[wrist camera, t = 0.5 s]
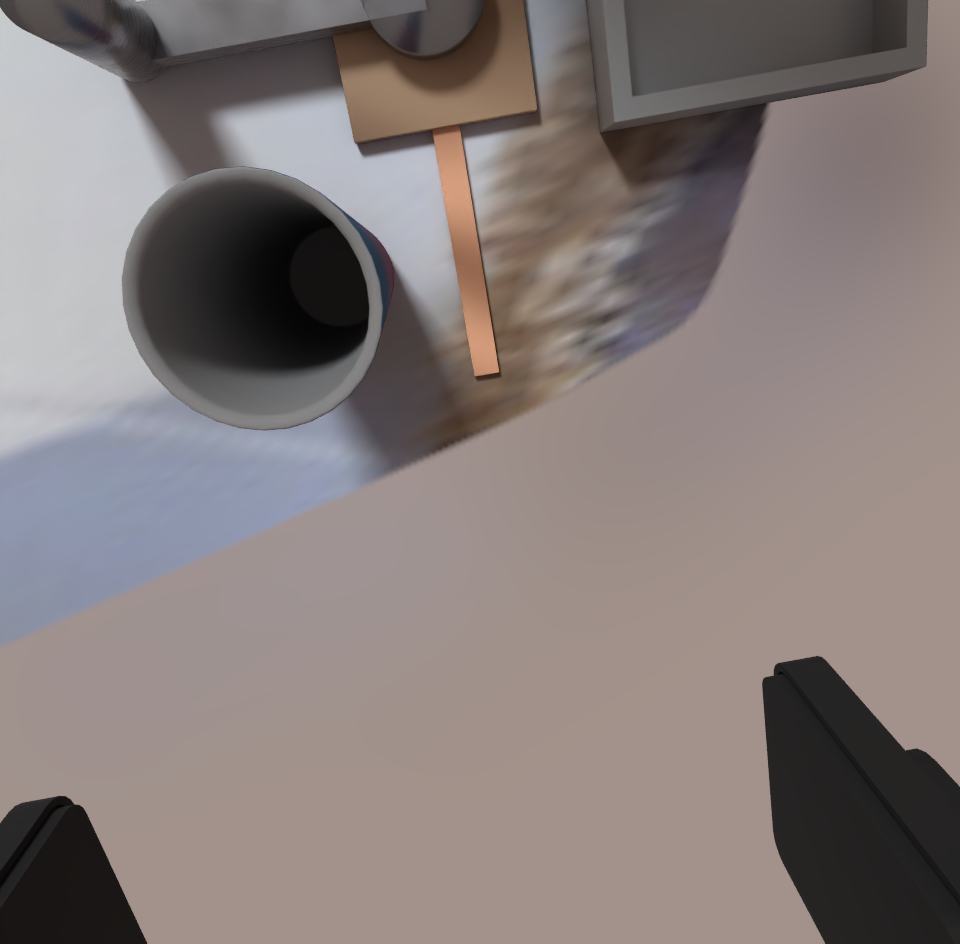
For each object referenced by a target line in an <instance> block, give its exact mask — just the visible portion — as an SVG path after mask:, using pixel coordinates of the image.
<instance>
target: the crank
mask: <svg viewBox="0 0 960 944" xmlns="http://www.w3.org/2000/svg"><path fill="white" fill-rule="evenodd" d="M483 5H484V0H146V1H141V2H136V1H135V0H0V8H1V9H2V11H3V12H4V13H5V14H6V16H7V17H8V18H9V19H10V20H11V21H12V22H13V23H15V24H16V25H17V26H19V27H20V28H22V29H23V30H25V31H27V32H29V33H31V34H34V35H36V36H38V37H40V38H42V39H44V40H46V41H48V42H50V43H52V44H54V45H56V46H58V47H60V48H62V49H64V50H66V51H68V52H70V53H72V54H74V55H77V56H79V57H81V58H83V59H85V60H87V61H89V62H91V63H93V64H95V65H97V66H99V67H101V68H103V69H105V70H107V71H109V72H111V73H113V74H115V75H117V76H120V77H122V78H124V79H126V80H129V81H132V82H146V81H149V80H152V79H153V78H155V77H157V76H158V75H159V74H160V73H161V72H162V70H163V69H164V67H166V66H172V65H177V64H183V63H188V62H194V61H199V60H205V59H210V58H216V57H221V56H226V55H232V54H237V53H243V52H248V51H254V50H259V49H265V48H270V47H275V46H281V45H286V44H292V43H297V42H303V41H308V40H314V39H319V38H324V37H330V36H335V35H341V34H346V33H352V32H357V31H363V30H368V29H373V30H374V31H375V33H376V34H377V35H378V37H379V38H380V39H381V40H382V41H383V42H384V43H385V44H386V45H387V46H388V47H389V48H391V49H392V50H394V51H395V52H397V53H399V54H401V55H403V56H405V57H408V58H411V59H417V60H434V59H438V58H442V57H445V56H447V55H449V54H451V53H453V52H454V51H456V50H457V49H459V48H460V47H461V46H462V45H463V44H464V43H465V42H466V41H467V40H468V39H469V38H470V36H471V35H472V33H473V32H474V30H475V28H476V26H477V25H478V22H479V20H480V17H481V14H482V10H483Z"/></svg>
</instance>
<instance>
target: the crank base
mask: <svg viewBox="0 0 960 944" xmlns="http://www.w3.org/2000/svg"><path fill="white" fill-rule="evenodd" d="M333 40H334V45H335V50H336V55H337V60H338V65H339V70H340V74H341V79H342V84H343V89H344V94H345V99H346V104H347V109H348V113H349V118H350V123H351V128H352V133H353V138H354V142H355V143H356V144H360V143H365V142H371V141H376V140H382V139H388V138H393V137H399V136H404V135H410V134H415V133H421V132H426V131H432V132H433V138H434V143H435V149H436V155H437V161H438V167H439V172H440V178H441V184H442V190H443V196H444V201H445V207H446V213H447V219H448V224H449V230H450V236H451V242H452V248H453V253H454V259H455V265H456V271H457V277H458V282H459V288H460V294H461V300H462V306H463V311H464V317H465V323H466V329H467V335H468V340H469V346H470V352H471V358H472V364H473V369H474V375H475V376H480V375H486V374H492V373H497V372H499V368H498V362H497V356H496V349H495V343H494V337H493V331H492V325H491V318H490V312H489V306H488V300H487V293H486V287H485V281H484V275H483V269H482V262H481V256H480V250H479V244H478V238H477V231H476V225H475V219H474V213H473V207H472V200H471V194H470V188H469V182H468V176H467V169H466V163H465V157H464V151H463V145H462V138H461V132H460V126H459V125H465V124H471V123H476V122H482V121H487V120H493V119H498V118H504V117H509V116H515V115H520V114H526V113H531V112H536V110H537V104H536V96H535V89H534V81H533V73H532V65H531V57H530V50H529V42H528V34H527V26H526V19H525V11H524V3H523V0H484V5H483V10H482V14H481V17H480V20H479V22H478V25H477V26H476V28H475V30H474V32H473V33H472V35H471V36H470V38H469V39H468V40H467V41H466V42H465V43H464V44H463V45H462V46H461V47H460V48H459V49H457V50H456V51H454V52H453V53H451V54H449V55H447V56H445V57H442V58H438V59H434V60H417V59H411V58H408V57H405V56H403V55H401V54H399V53H397V52H395V51H394V50H392V49H391V48H389V47H388V46H387V45H386V44H385V43H384V42H383V41H382V40H381V39H380V38H379V37H378V35H377V34H376V33H375V31H374V30H373V29H368V30H363V31H357V32H352V33H346V34H341V35H335V36H333Z"/></svg>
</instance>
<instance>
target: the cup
mask: <svg viewBox="0 0 960 944" xmlns="http://www.w3.org/2000/svg"><path fill="white" fill-rule="evenodd" d="M393 281H394V276H393V268H392V264H391V261H390V258H389V255H388V254H387V252H386V250H385V248H384V246H383V245H382V244H381V242H380V241H379V240H378V239H377V238H376V237H375V236H374V235H373V234H372V233H371V232H369V231H368V230H367V229H366V228H364V227H363V226H362V225H361V224H359V223H358V222H357V221H356V220H354V219H353V218H352V217H351V216H349V215H348V214H347V213H346V212H344V211H343V210H342V209H340V208H339V207H338V206H337V205H335V204H334V203H333V202H332V201H330V200H329V199H328V198H327V197H325V196H324V195H323V194H322V193H320V192H319V191H317V190H315V189H313V188H312V187H310V186H308V185H306V184H305V183H303V182H301V181H299V180H298V179H296V178H293V177H290V176H287V175H284V174H281V173H278V172H275V171H272V170H267V169H259V168H251V167H243V166H242V167H231V168H219V169H214V170H211V171H207V172H204V173H201V174H198V175H195V176H191V177H189V178H188V179H186V180H184V181H183V182H181V183H179V184H177V185H176V186H174V187H172V188H171V189H169V190H168V191H167V192H166V193H165V194H163V195H162V196H161V197H160V198H159V199H158V200H157V201H156V202H155V203H154V204H153V205H152V206H151V207H150V208H149V209H148V211H147V212H146V214H145V215H144V217H143V218H142V220H141V221H140V223H139V224H138V226H137V227H136V229H135V231H134V234H133V236H132V239H131V242H130V244H129V247H128V249H127V252H126V257H125V263H124V269H123V275H122V292H123V306H124V311H125V315H126V319H127V324H128V328H129V331H130V333H131V336H132V338H133V340H134V342H135V345H136V347H137V349H138V352H139V354H140V355H141V357H142V358H143V360H144V361H145V363H146V364H147V366H148V367H149V369H150V370H151V372H152V373H153V375H154V376H155V377H156V378H157V379H158V380H159V381H160V382H161V383H162V384H163V385H164V386H165V388H166V389H167V390H168V391H169V392H170V393H171V394H172V395H174V396H175V397H176V398H178V399H179V400H180V401H182V402H183V403H184V404H186V405H187V406H189V407H190V408H191V409H193V410H194V411H197V412H199V413H201V414H203V415H205V416H207V417H209V418H211V419H213V420H215V421H217V422H221V423H224V424H228V425H231V426H235V427H238V428H244V429H254V430H275V429H287V428H291V427H294V426H298V425H301V424H305V423H308V422H311V421H313V420H315V419H317V418H319V417H321V416H323V415H325V414H326V413H328V412H330V411H332V410H333V409H334V408H336V407H337V406H338V405H339V404H340V403H342V402H343V401H344V400H345V399H346V398H348V397H349V396H350V395H351V393H352V392H353V391H354V390H355V389H356V387H357V386H358V385H359V384H360V382H361V381H362V380H363V379H364V377H365V375H366V373H367V371H368V369H369V367H370V365H371V363H372V361H373V359H374V357H375V355H376V351H377V347H378V344H379V340H380V337H381V333H382V329H383V325H384V321H385V318H386V314H387V310H388V306H389V302H390V298H391V294H392V291H393Z"/></svg>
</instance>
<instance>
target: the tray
mask: <svg viewBox="0 0 960 944" xmlns="http://www.w3.org/2000/svg"><path fill="white" fill-rule="evenodd" d="M586 5H587V14H588V24H589V33H590V43H591V52H592V62H593V71H594V81H595V91H596V100H597V110H598V119H599V129H600V133H602V132H608V131H614V130H619V129H625V128H630V127H636V126H641V125H647V124H652V123H658V122H664V121H669V120H675V119H680V118H686V117H691V116H697V115H703V114H708V113H714V112H719V111H725V110H730V109H736V108H741V107H747V106H753V105H758V104H764V103H769V102H775V101H780V100H786V99H791V98H797V97H802V96H808V95H813V94H819V93H825V92H830V91H836V90H841V89H847V88H852V87H858V86H864V85H869V84H875V83H880V82H884V81H887V80H890V79H892V78H895V77H898V76H901V75H904V74H906V73H909V72H912V71H915V70H917V69H920V68H923V67H925V66H926V55H927V18H928V0H586Z"/></svg>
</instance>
